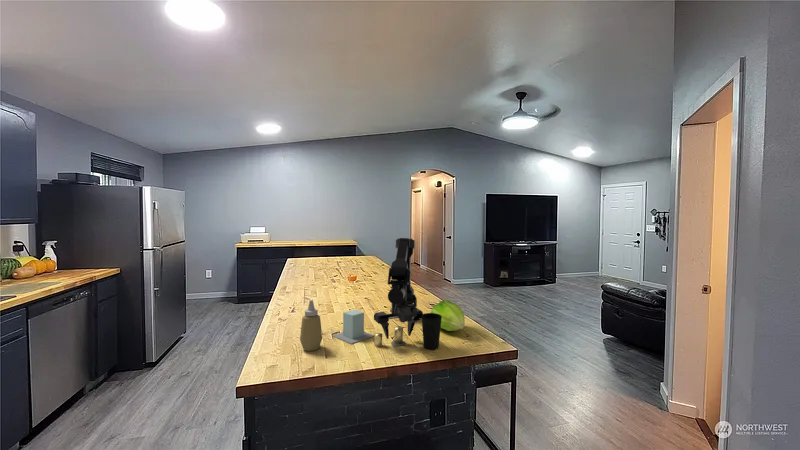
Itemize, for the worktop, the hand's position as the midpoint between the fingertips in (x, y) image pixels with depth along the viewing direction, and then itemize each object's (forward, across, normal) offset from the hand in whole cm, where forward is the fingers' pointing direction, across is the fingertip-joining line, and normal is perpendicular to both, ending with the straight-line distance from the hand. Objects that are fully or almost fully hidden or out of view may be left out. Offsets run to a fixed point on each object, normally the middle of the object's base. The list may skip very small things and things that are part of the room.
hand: (398, 337), depth 134 cm
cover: (+2, -14, +14) cm, 20 cm away
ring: (+2, 0, 0) cm, 2 cm away
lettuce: (+3, +26, +4) cm, 26 cm away
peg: (+2, 0, 0) cm, 2 cm away
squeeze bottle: (+3, -32, +8) cm, 33 cm away
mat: (+2, -14, +14) cm, 20 cm away
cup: (+3, +10, -8) cm, 13 cm away
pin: (+2, -8, +1) cm, 8 cm away
